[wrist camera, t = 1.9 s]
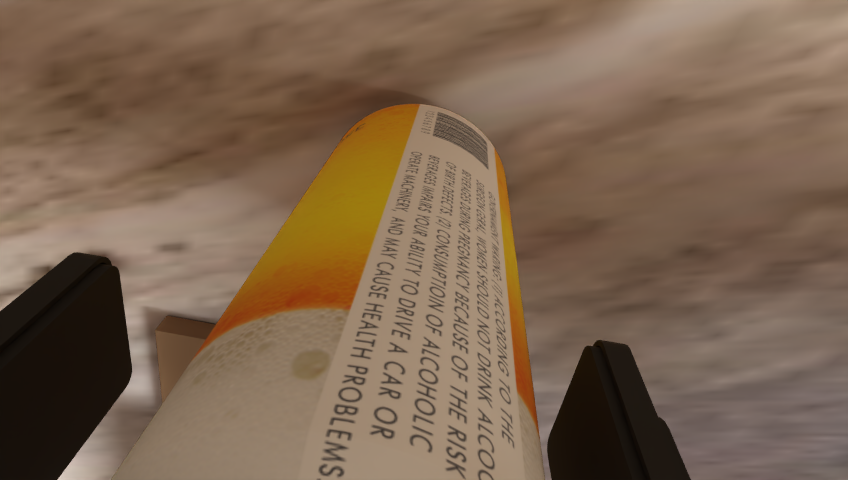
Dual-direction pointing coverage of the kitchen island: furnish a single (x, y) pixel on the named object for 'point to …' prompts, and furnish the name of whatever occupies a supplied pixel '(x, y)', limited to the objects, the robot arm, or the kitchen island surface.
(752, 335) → the kitchen island surface
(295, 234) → the beer can
